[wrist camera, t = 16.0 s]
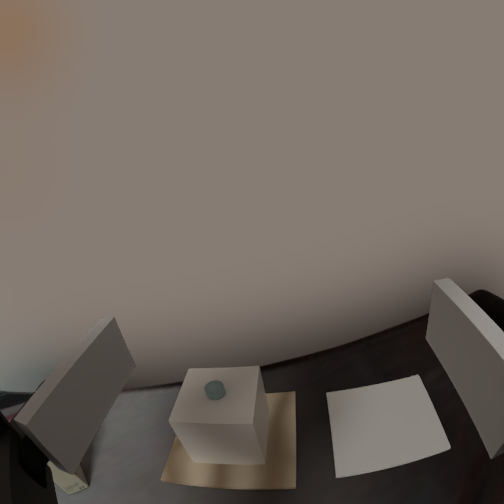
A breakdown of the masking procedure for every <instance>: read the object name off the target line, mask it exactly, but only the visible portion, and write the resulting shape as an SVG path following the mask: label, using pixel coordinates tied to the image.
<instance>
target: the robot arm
mask: <svg viewBox="0 0 504 504" xmlns="http://www.w3.org/2000/svg"><path fill="white" fill-rule="evenodd" d="M426 340H427V341H428V343H429V344H430V346H431V348H432V349H433V351H434V352H435V354H436V356H437V357H438V359H439V361H440V362H441V364H442V366H443V367H444V369H445V371H446V372H447V374H448V376H449V378H450V379H451V381H452V383H453V385H454V386H455V388H456V390H457V392H458V394H459V395H460V397H461V399H462V401H463V403H464V405H465V407H466V408H467V410H468V412H469V414H470V416H471V418H472V420H473V422H474V424H475V426H476V428H477V430H478V432H479V434H480V436H481V438H482V441H483V443H484V445H485V447H486V449H487V451H488V454H489V456H490V458H491V459H493V458H494V457H496V456H498V455H500V454H502V453H504V332H503V331H502V330H501V329H500V328H499V327H498V325H497V324H496V323H495V322H494V321H493V320H492V319H491V318H490V317H489V316H488V315H487V314H486V313H485V312H484V311H483V310H482V309H481V308H480V307H479V306H478V305H477V304H476V303H475V302H474V301H473V300H472V299H471V298H470V297H469V296H468V295H467V294H466V293H465V292H464V291H462V290H461V289H460V288H459V287H458V286H457V285H456V284H455V283H454V282H453V281H452V280H451V279H450V278H445V279H440V280H435V281H433V289H432V298H431V306H430V313H429V320H428V327H427V333H426ZM135 366H136V365H135V363H134V361H133V358H132V356H131V354H130V352H129V350H128V348H127V345H126V343H125V341H124V339H123V336H122V334H121V332H120V329H119V327H118V325H117V322H116V320H115V317H102V318H100V319H99V321H98V322H97V323H96V324H95V325H94V326H93V327H92V328H91V329H90V330H89V331H88V332H87V333H86V335H85V336H84V337H83V338H82V339H81V340H80V341H79V342H78V343H77V344H76V345H75V347H74V348H73V349H72V350H71V351H70V352H69V353H68V354H67V356H66V357H65V358H64V359H63V360H62V361H61V362H60V364H59V365H58V366H57V367H56V368H55V369H54V370H53V372H52V373H51V374H50V375H49V377H47V379H46V380H44V381H43V382H42V383H41V384H40V386H39V387H38V388H37V389H36V392H34V393H33V394H32V395H31V398H29V399H28V400H27V401H26V403H25V404H24V405H23V406H22V408H21V409H20V410H19V411H18V413H17V414H16V415H15V417H14V418H13V419H12V420H11V421H10V423H9V422H8V420H7V419H6V418H5V417H4V415H3V414H2V413H1V411H0V504H58V502H57V497H56V492H55V487H54V482H53V476H52V471H51V468H50V467H49V466H48V465H47V464H48V462H49V460H50V461H51V462H52V463H53V464H54V465H55V466H56V467H57V468H58V469H59V470H62V471H64V472H66V473H69V474H71V475H74V473H75V471H76V469H77V467H78V465H79V464H80V462H81V460H82V458H83V456H84V454H85V453H86V451H87V449H88V447H89V445H90V444H91V442H92V440H93V438H94V437H95V435H96V433H97V431H98V429H99V428H100V426H101V424H102V423H103V421H104V419H105V417H106V416H107V414H108V412H109V410H110V409H111V407H112V405H113V404H114V402H115V400H116V398H117V397H118V395H119V393H120V392H121V390H122V388H123V386H124V385H125V383H126V381H127V380H128V378H129V377H130V375H131V373H132V372H133V370H134V368H135ZM501 504H504V496H503V499H502V502H501Z"/></svg>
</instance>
